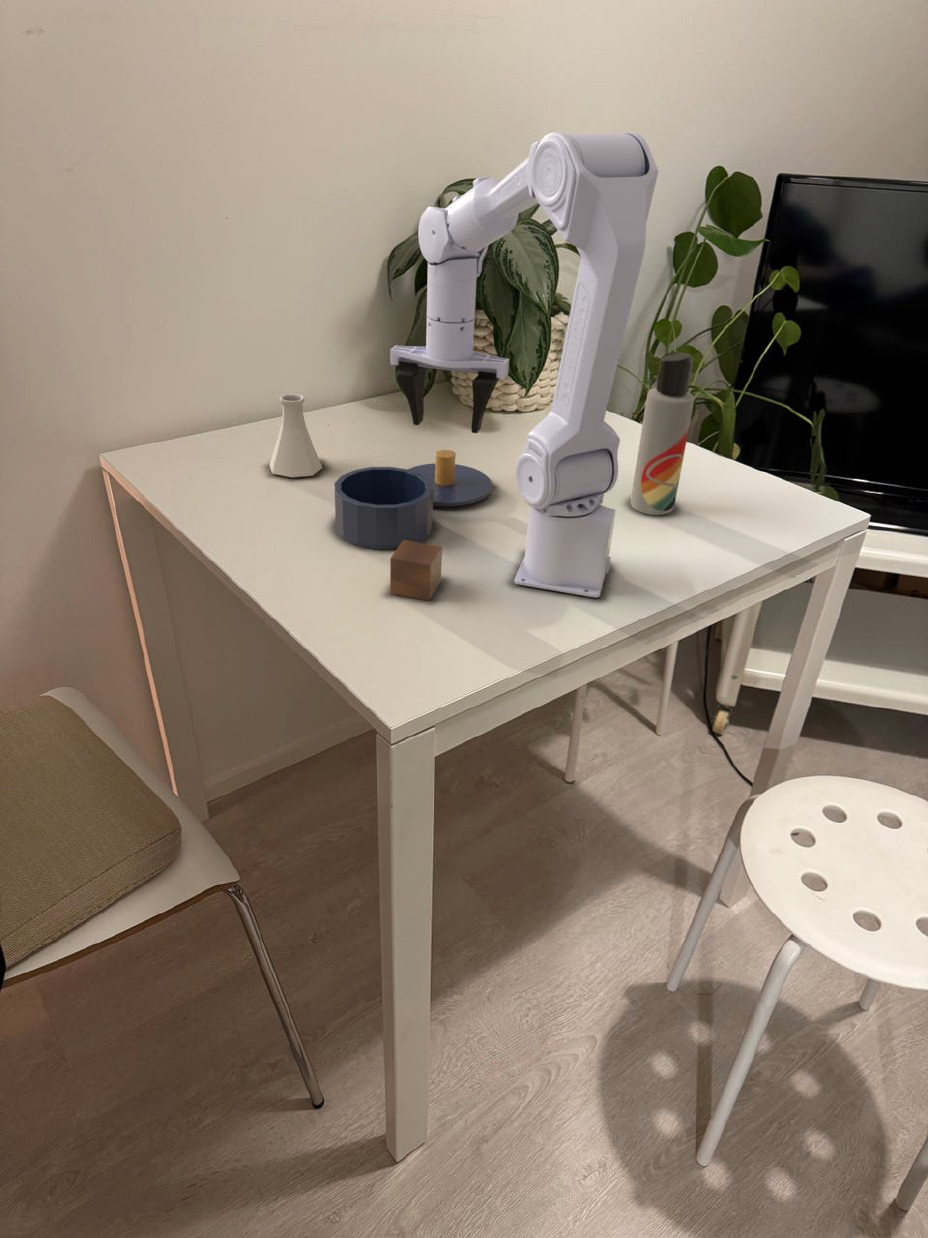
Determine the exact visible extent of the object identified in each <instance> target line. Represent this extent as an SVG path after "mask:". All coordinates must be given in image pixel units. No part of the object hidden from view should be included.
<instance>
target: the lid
mask: <svg viewBox="0 0 928 1238" xmlns="http://www.w3.org/2000/svg"><path fill="white" fill-rule="evenodd" d="M456 455H457V454H456V452H455V451H454V450H450V449H440V450H437V451H436V452H435V462H434V463H426V464H420V465H415V466H412V467H410V468H407V469H408V470H411V471H414V472H417V473H419V474H422V475H423V476H425V477H426V478H427V479H428V480H430V481H431V482H432V486H433V506H438V507H456V506H458V507H459V506H465V505H470V504H475V503H477V502H480V501H482V500H484V499H485V498H487V497H488V496H489V495H490V494H491V492H492V490H493V482H492V480H491V478H490V477H489V476H488V475H487V474H485V473H484V472H483V471H480V470H478V469H476V468H473V467H471V466H467V465H463V464H457V463H456Z"/></svg>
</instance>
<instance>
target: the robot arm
mask: <svg viewBox="0 0 928 1238" xmlns="http://www.w3.org/2000/svg"><path fill="white" fill-rule="evenodd" d="M658 175H659V169H658V166H657V164H656V161H655V159H654V157H653V154H652V152H651V149H650V148H649V145H648V143H647V141H646V139H644V137H643V136H641V135H640V134H638V133H637V132H634V131H625V132H622V133H575V134H574V133H568V134H567V133H564V132H559V131H552V132H550V133H547V134H546V135H544V136H543V137H542V138H541V140H538V141H535V142H533V143H531V146H530V150H529V155H528V157H527V158H525V160H523V161H522V162H521V163H520V164H519V165H517V167H515V168H514V169H513V170H512V171H510V172H509V173H508V174H507V175H506V176H505V177H503V179H501V180H499V179H496V178H491V177H489V176H483V177H482V176H481V177H477V178H476V179H474V180H473V181H472V186H473V187H472V188H471V189H469V190H468V191H466V192H465V193H463V194H462V195H456V196H454V197H453V198H452V202H451V203H450V204H448V205H447V206H446V207H437V206H428V207H427V208H425V211H423V213H422V214H421V216H420V219H419V223H418V232H417V235H418V244H419V249H420V252H421V255H422V256H423V258H424V259H425V260H426V262H427V278H426V279H427V286H426V287H427V288H426V289H427V290H426V330H425V331H426V333H425V334H426V335H425V339H426V340H425V346H414V345H412V346H409V345H394V346H393V347H392V348H390V351H389V352H390V355H389V356H390V357H389V359H390V366H398V368H397V369H398V370H397V371H396V372H395V375H396V379H397V381H398V383H399V384H400V386H401V388H402V390H403V392H404V394H405V397H406V400H407V403H408V407H409V410H410V413H411V419H412V424H413V426H419V425H420V424H421V423H422V422H423V420H424V413H425V408H424V407H425V406H424V405H425V404H424V403H425V402H424V393H425V392H424V391H425V380H426V370H427V368H428V369H435V370H443V371H453V372H460V373H469V374H476V375H477V376H475V377H474V379H473V380H472V381H471V387H472V409H473V410H472V418H471V426H470V427H471V433H472V434H478V433H479V432H480V430H481V428H482V423H483V418H484V414H485V411H486V408H487V406H488V404H489V401H490V398H491V396H492V394H493V393H494V390H495V388H496V386H497V385H498V383H499V380H500V379H502V380H505V379H506V378H507V377H508V375H509V368H510V358H506V357H500V356H495V355H490V354H487V353H482V352H478V351H474V342H475V341H474V339H475V337H474V336H475V318H476V299H477V298H476V297H477V278H478V277H480V276H481V273H482V269H483V262H484V261H483V260H484V258H485V256H486V254H487V252H488V249H489V245H491V244H493V243H494V242H496V241H497V240H500V239H501V238H503V237H504V236H506V235H508V234H509V233H511V232H512V231H513V230H514V229H515V227H516V225H517V223H518V220H519V214H521V213H522V212H524V211H526V210H529V209H530V208H532V207H534V206H536V205H538V204H539V206H540V207H541V209H542V210H543V212H544V213H545V215H546V216H547V218H548V219H549V220H550V222H551V223H552V225H553V226H554V227H555V229H556V230H557V231H558V233H559V234H560V236H561V237H562V238H563V240H564V241H565V242H566V243H568V244H570V245H572V246H574V247H575V248H576V250H577V251H578V254H579V257H580V260H579V265H578V271H577V277H576V281H575V285H574V291H573V297H572V302H571V306H570V312H569V316H568V317H569V318H568V323H567V327H566V332H565V336H564V337H565V338H564V342H563V347H562V352H561V358H560V363H559V367H558V368H559V369H558V373H557V377H556V378H557V379H556V384H555V389H554V394H553V398H552V404H551V409H550V412H549V414H547V415H546V416H545V418H543V419H542V420H541V421H540V422H539V423H538V424H536V426H535V427H533V428H532V429H531V430H530V431H529V432H528V434H527V437H526V438H527V439H526V443H525V446H524V448H523V450H522V452H521V453H520V455H519V456H518V459H517V462H516V466H515V483H516V487H517V489H518V492H519V494H520V496H521V497H522V499H523V500H524V502H526V504H527V505H528V506H529V508H528V521H527V529H526V530H527V531H526V540H525V549H524V550H525V552H524V557H523V559H522V561H521V563H520V566H519V567H518V570H517V572H516V575H515V577H514V581H513V582H514V584H516V585H520V586H524V587H525V586H526V587H532V588H536V589H543V590H549V591H554V592H561V593H567V594H572V595H579V596H583V597H590V598H594V599H595V598H599V597H600V596H601V592H602V589H603V585H604V581H605V578H606V574H609V571H610V567H611V561H612V557H611V556H610V553H611V552H610V551H611V544H612V539H613V531H614V526H615V519H616V509H615V508H612V507H609V506H606V505H603V503H604V497H605V494H607V493H609V492H610V491H612V490H613V488H615V485H616V483H617V480H618V477H619V461H618V451H619V450H618V449H619V446H620V442H621V438H620V437H619V435H618V434H617V432H616V431H615V430H614V428H613V427H612V426H611V425H610V424H608V423H607V421H605V418H606V414H607V411H608V410H607V409H608V405H609V401H610V398H611V393H612V390H613V389H612V388H613V384H614V379H615V376H616V373H617V368H618V363H619V359H620V355H621V351H622V346H623V342H624V338H625V334H626V330H627V326H628V321H629V317H630V313H631V310H632V309H631V308H632V305H633V300H634V296H635V292H636V287H637V284H638V281H639V275H640V271H641V267H642V262H643V259H644V254H645V248H646V238H647V237H646V235H647V233H646V231H647V222H648V219H649V213H650V210H651V205H652V201H653V197H654V192H655V188H656V184H657V180H658Z"/></svg>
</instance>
